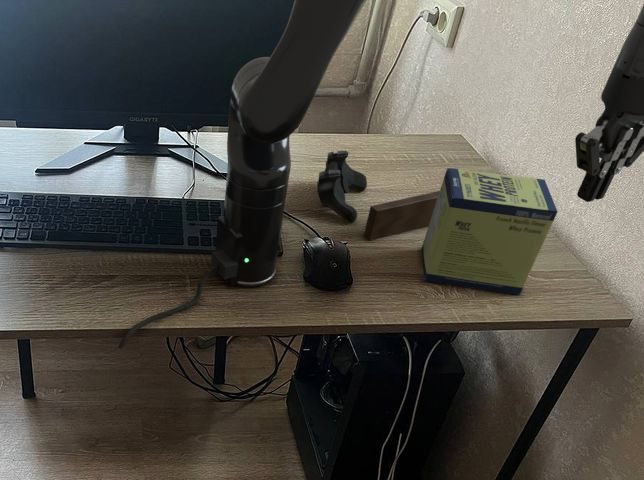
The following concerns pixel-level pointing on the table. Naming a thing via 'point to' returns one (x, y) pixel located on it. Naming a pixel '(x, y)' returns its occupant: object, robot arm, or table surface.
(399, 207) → the bar
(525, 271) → the protein box
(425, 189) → the table surface
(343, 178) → the game controller
